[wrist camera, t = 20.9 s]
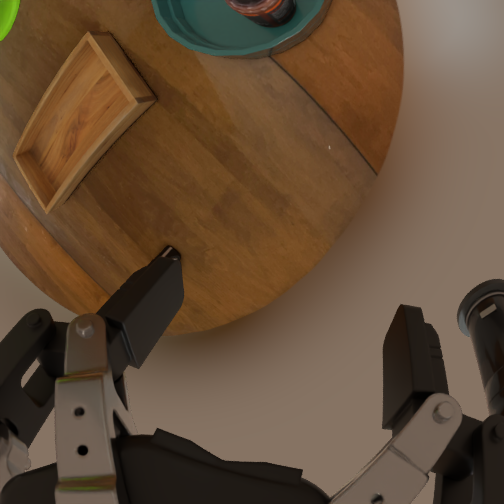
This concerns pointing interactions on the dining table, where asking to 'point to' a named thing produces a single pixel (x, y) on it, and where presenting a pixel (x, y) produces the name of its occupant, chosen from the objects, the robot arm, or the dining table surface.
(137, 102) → the tray
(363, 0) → the dining table surface
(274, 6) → the supplement bottle
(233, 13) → the bowl
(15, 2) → the wineglass
